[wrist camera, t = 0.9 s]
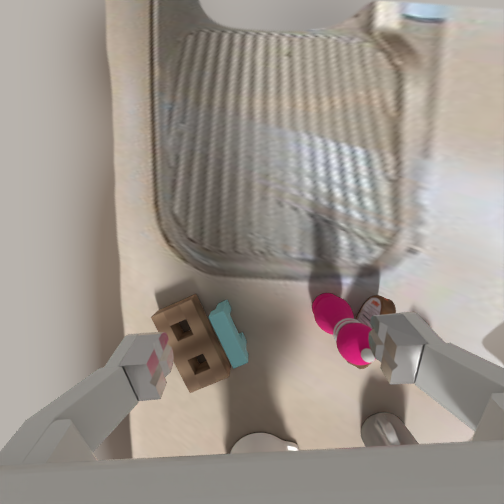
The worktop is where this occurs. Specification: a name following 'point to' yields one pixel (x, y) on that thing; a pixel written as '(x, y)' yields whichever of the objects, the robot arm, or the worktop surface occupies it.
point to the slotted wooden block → (193, 343)
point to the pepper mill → (343, 328)
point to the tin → (374, 313)
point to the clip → (229, 334)
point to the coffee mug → (385, 431)
